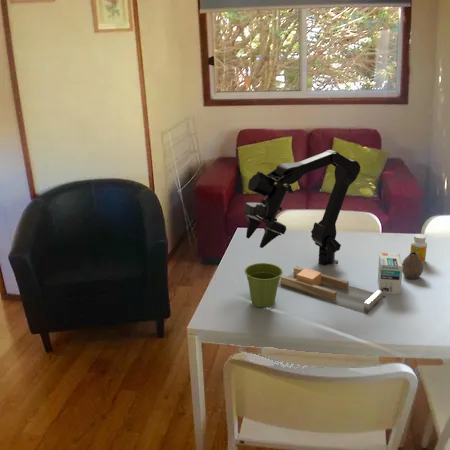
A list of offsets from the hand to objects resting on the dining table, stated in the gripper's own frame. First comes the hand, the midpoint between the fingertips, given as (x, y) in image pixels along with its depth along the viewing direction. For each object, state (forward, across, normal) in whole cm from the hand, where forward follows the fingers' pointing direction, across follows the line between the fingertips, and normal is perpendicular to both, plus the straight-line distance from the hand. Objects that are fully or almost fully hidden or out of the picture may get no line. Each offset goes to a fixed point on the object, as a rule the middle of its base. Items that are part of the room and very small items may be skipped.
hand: (254, 242), depth 181 cm
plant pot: (+15, +15, +2) cm, 21 cm away
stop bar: (0, +34, +27) cm, 43 cm away
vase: (-11, +24, +50) cm, 56 cm away
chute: (+4, +20, +21) cm, 30 cm away
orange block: (+5, +13, +18) cm, 23 cm away
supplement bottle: (-16, +15, +60) cm, 64 cm away
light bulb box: (-5, +27, +38) cm, 47 cm away
